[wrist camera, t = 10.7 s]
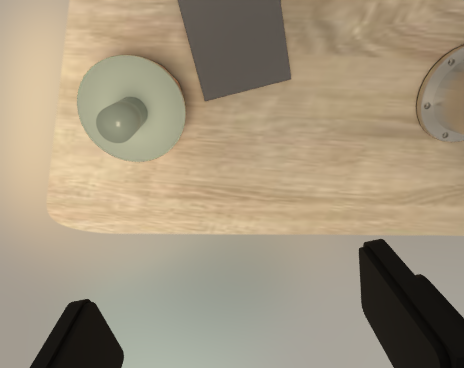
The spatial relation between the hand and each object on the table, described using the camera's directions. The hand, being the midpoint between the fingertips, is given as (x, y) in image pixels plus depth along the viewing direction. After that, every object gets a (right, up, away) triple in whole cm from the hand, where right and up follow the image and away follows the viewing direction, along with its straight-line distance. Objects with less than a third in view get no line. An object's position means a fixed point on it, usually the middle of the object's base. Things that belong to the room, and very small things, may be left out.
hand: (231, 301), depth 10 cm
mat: (+1, +21, +24) cm, 32 cm away
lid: (-11, +12, +21) cm, 27 cm away
